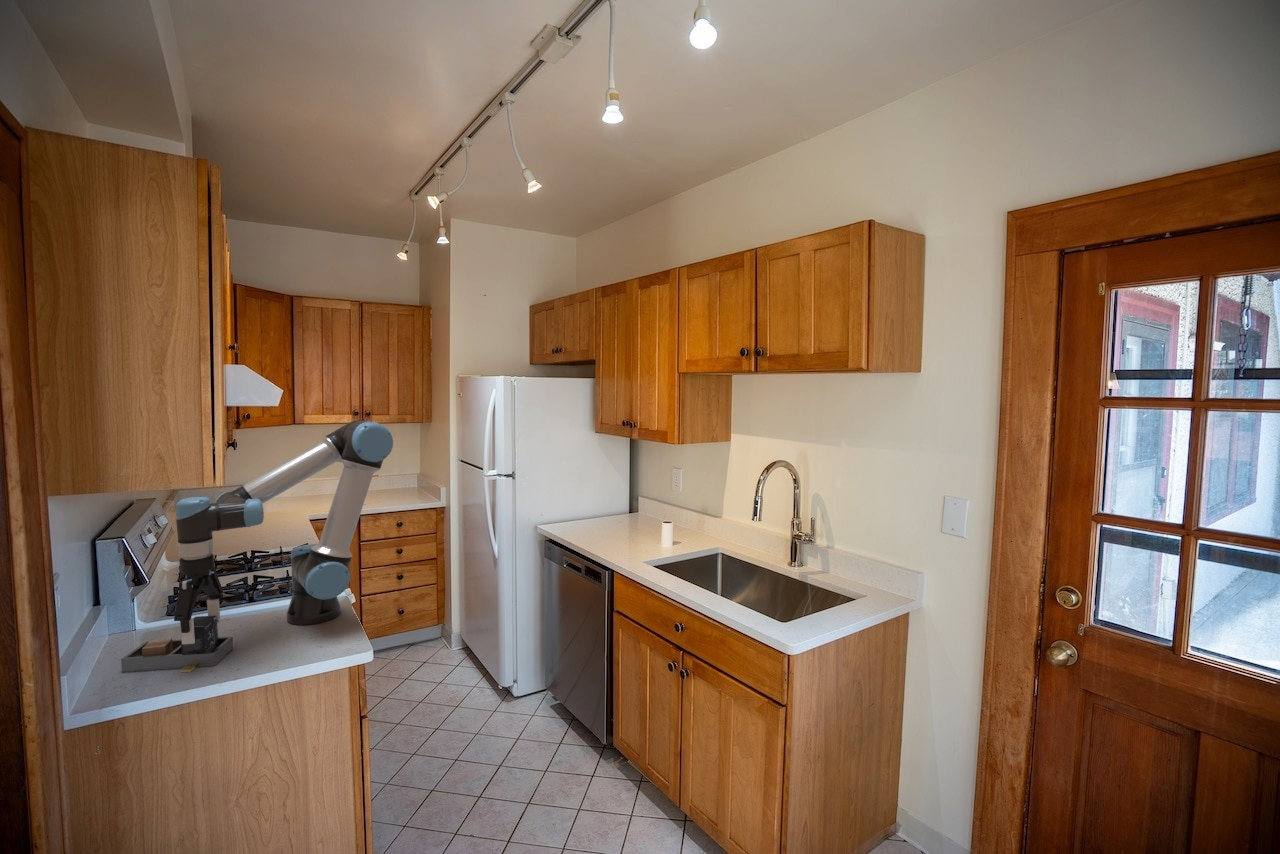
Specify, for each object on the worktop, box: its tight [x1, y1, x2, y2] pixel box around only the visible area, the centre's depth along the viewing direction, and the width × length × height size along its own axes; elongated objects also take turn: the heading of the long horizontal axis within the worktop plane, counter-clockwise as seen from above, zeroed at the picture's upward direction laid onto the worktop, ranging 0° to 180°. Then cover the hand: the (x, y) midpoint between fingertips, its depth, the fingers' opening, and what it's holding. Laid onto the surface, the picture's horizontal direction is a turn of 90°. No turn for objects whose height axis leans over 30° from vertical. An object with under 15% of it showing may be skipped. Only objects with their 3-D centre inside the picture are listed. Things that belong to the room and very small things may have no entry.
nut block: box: [142, 638, 173, 656], centre depth 165 cm, size 5×5×5 cm
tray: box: [120, 636, 234, 673], centre depth 165 cm, size 13×22×4 cm, turn 100°
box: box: [180, 615, 219, 654], centre depth 167 cm, size 8×6×11 cm
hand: (202, 632), depth 167 cm, fingers open, 13 cm apart
